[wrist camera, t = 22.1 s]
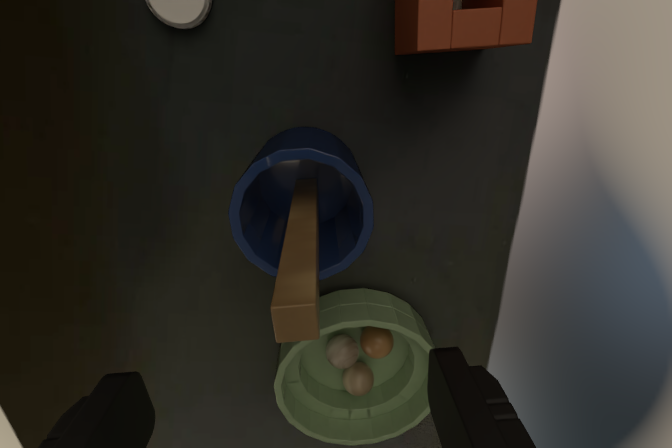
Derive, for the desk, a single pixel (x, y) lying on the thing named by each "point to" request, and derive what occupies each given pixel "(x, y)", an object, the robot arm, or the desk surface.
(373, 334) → the bead
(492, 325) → the desk surface
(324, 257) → the crock
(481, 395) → the robot arm
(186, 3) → the grey bottle cap
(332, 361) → the bead
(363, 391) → the bead
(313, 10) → the desk surface
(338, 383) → the bowl
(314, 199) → the stick
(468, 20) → the holder
